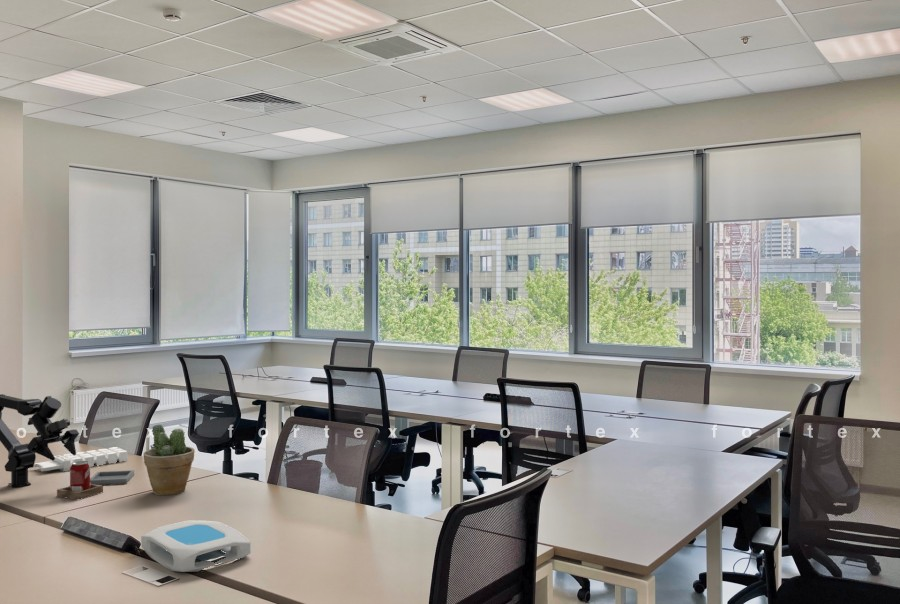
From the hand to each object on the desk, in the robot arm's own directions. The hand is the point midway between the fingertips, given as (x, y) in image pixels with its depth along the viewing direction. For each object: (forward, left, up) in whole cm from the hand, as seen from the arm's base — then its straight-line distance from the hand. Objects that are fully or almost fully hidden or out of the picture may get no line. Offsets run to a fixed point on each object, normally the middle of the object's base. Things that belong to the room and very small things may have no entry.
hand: (64, 457), depth 278 cm
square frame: (+7, +3, -13) cm, 16 cm away
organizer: (-41, +18, -14) cm, 47 cm away
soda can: (+7, +3, -13) cm, 16 cm away
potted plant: (+26, +29, -13) cm, 42 cm away
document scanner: (+96, +7, -14) cm, 98 cm away
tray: (-6, +19, -13) cm, 24 cm away
